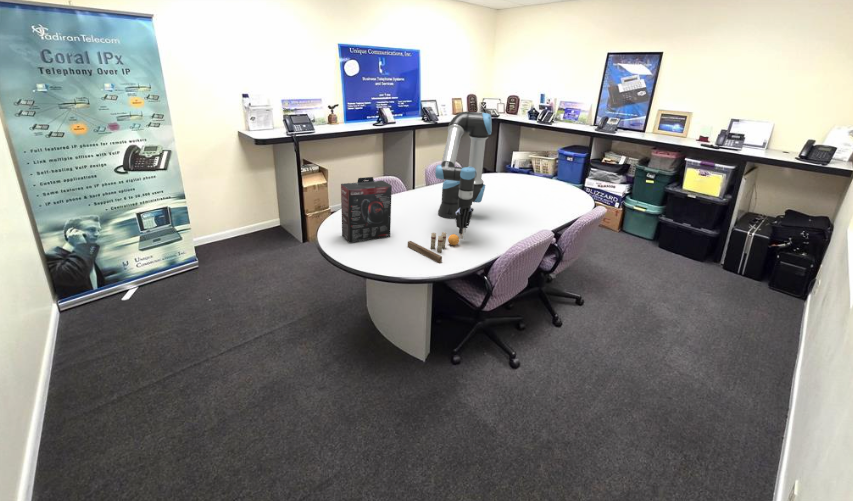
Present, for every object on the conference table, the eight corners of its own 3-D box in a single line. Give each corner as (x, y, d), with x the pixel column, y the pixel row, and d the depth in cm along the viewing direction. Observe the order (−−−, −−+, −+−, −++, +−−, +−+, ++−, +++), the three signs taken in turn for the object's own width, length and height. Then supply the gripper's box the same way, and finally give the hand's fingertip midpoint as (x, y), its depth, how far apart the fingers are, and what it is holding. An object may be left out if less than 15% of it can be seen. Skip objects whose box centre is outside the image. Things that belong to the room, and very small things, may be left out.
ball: (447, 232, 222) (444, 242, 223) (456, 235, 218) (452, 246, 219) (454, 233, 227) (451, 243, 228) (462, 236, 223) (459, 247, 224)
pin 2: (439, 250, 216) (440, 235, 213) (442, 252, 215) (443, 236, 211) (435, 251, 215) (436, 236, 211) (439, 253, 213) (440, 238, 210)
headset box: (382, 229, 239) (382, 173, 226) (391, 237, 230) (392, 178, 216) (341, 235, 227) (339, 176, 214) (349, 244, 218) (347, 182, 204)
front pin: (442, 246, 221) (444, 231, 218) (446, 248, 220) (447, 233, 216) (439, 247, 220) (440, 232, 216) (442, 249, 218) (443, 234, 215)
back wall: (410, 245, 220) (410, 240, 219) (441, 261, 204) (442, 256, 203) (407, 246, 219) (407, 241, 217) (438, 263, 203) (439, 257, 201)
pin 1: (432, 247, 220) (433, 232, 216) (436, 248, 218) (437, 233, 215) (429, 248, 218) (430, 233, 215) (432, 249, 217) (433, 234, 213)
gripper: (462, 201, 211) (458, 243, 221) (479, 197, 220) (474, 238, 229) (451, 197, 216) (448, 239, 226) (468, 193, 225) (464, 234, 234)
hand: (461, 238), depth 228 cm, fingers closed
